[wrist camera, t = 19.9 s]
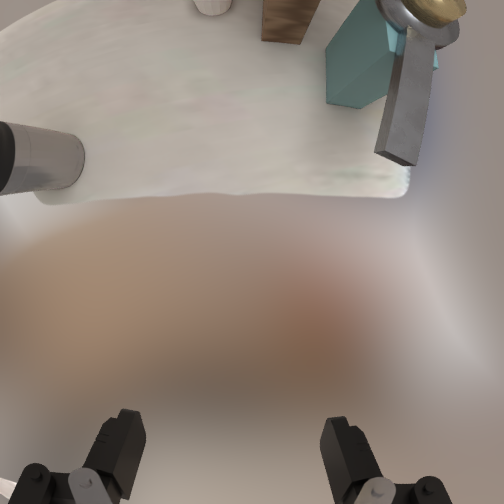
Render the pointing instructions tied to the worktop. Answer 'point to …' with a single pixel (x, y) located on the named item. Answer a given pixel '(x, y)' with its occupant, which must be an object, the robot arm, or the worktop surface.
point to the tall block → (361, 58)
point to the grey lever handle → (413, 71)
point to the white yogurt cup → (213, 6)
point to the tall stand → (287, 19)
